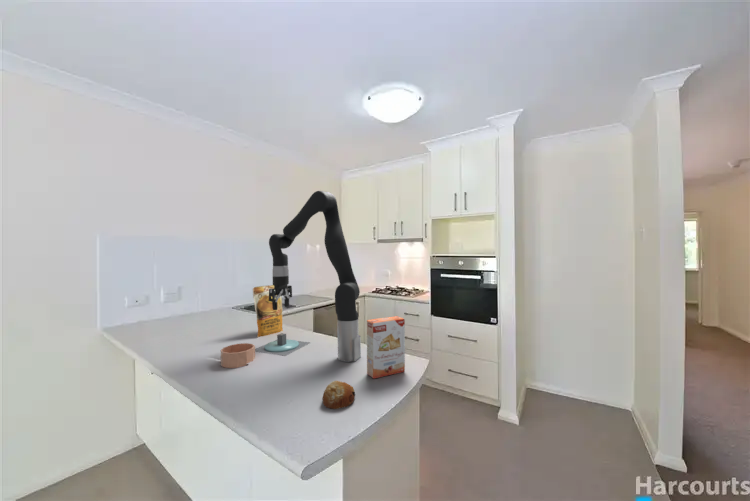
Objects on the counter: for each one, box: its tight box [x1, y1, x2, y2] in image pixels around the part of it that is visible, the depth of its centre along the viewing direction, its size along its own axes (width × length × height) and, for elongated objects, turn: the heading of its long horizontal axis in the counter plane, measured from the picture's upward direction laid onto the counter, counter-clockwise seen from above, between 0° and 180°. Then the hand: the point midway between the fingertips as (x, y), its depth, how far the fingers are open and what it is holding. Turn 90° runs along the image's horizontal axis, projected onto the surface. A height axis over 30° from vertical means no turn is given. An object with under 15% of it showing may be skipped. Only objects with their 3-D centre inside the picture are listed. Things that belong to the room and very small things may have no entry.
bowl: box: [220, 342, 256, 369], centre depth 129 cm, size 13×13×6 cm
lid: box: [264, 332, 299, 352], centre depth 146 cm, size 16×16×6 cm
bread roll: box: [322, 380, 356, 410], centre depth 94 cm, size 10×10×8 cm
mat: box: [255, 339, 311, 357], centre depth 146 cm, size 20×20×1 cm
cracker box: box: [366, 315, 406, 379], centre depth 115 cm, size 14×6×21 cm, turn 117°
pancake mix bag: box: [252, 284, 284, 338], centre depth 170 cm, size 7×19×28 cm, turn 141°
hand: (281, 308), depth 146 cm, fingers open, 8 cm apart
